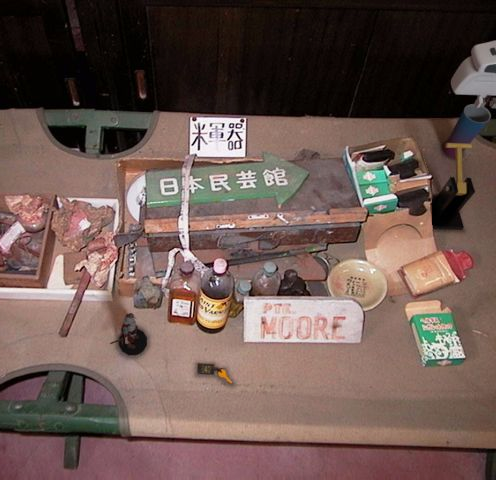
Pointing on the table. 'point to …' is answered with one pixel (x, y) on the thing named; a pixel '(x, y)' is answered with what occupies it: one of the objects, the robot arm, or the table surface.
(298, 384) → the table surface
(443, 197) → the black slotted stand
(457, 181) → the lever
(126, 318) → the figurine
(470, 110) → the cup
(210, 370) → the key tag
